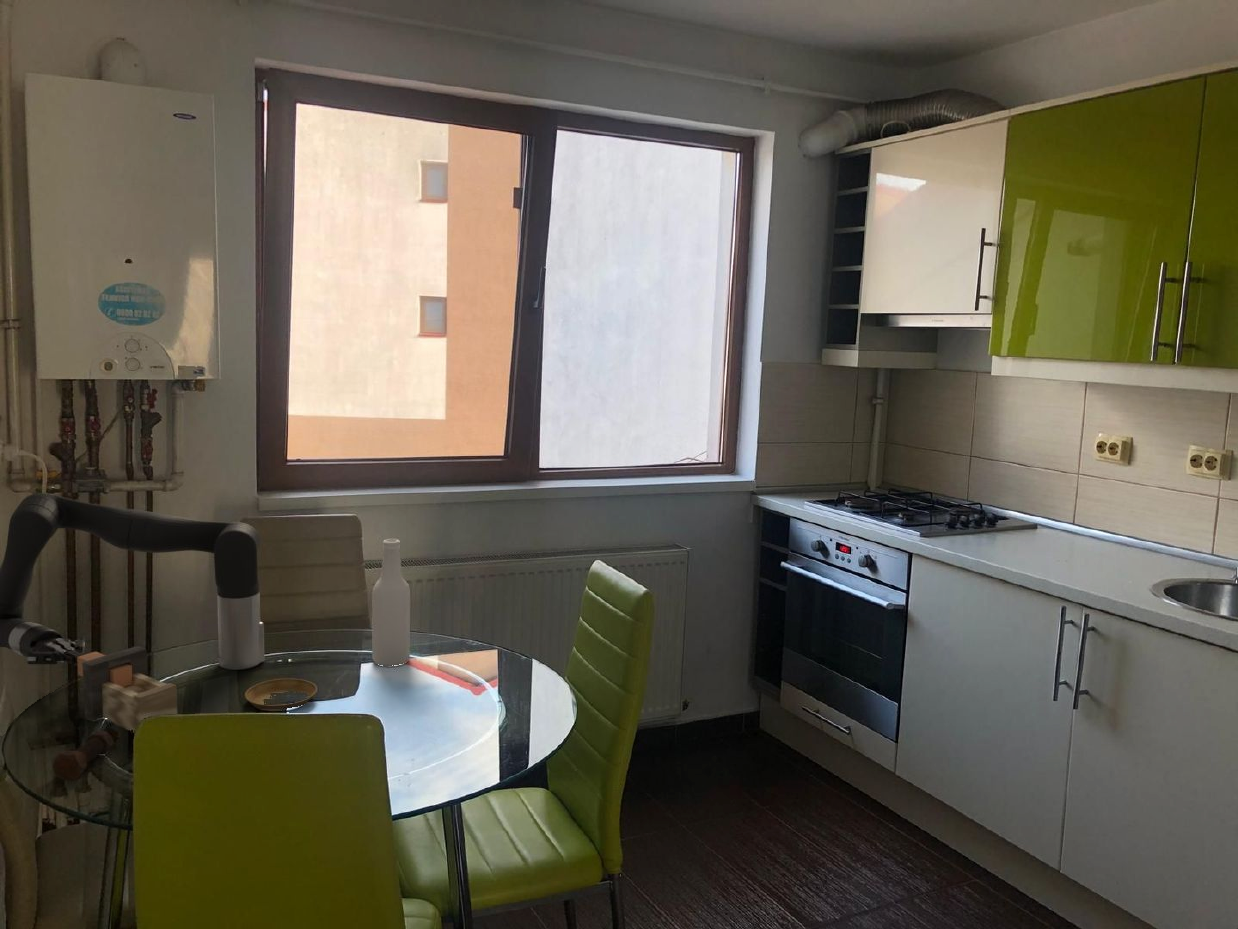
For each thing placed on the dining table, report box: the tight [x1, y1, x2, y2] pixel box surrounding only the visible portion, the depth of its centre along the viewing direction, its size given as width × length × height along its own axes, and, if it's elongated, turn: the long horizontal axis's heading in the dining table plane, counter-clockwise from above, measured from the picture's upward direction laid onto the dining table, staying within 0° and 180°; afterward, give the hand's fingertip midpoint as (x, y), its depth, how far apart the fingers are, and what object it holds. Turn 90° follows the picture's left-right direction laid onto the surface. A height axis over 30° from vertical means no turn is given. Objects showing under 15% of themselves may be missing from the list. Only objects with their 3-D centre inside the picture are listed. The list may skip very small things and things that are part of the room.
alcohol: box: [371, 538, 411, 666], centre depth 239 cm, size 9×9×30 cm
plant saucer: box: [244, 678, 318, 713], centre depth 216 cm, size 15×15×3 cm
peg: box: [77, 651, 133, 687], centre depth 209 cm, size 13×4×4 cm, turn 58°
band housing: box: [82, 645, 178, 734], centre depth 204 cm, size 16×12×12 cm
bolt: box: [51, 726, 120, 781], centre depth 187 cm, size 6×5×15 cm
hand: (79, 660), depth 214 cm, fingers closed
